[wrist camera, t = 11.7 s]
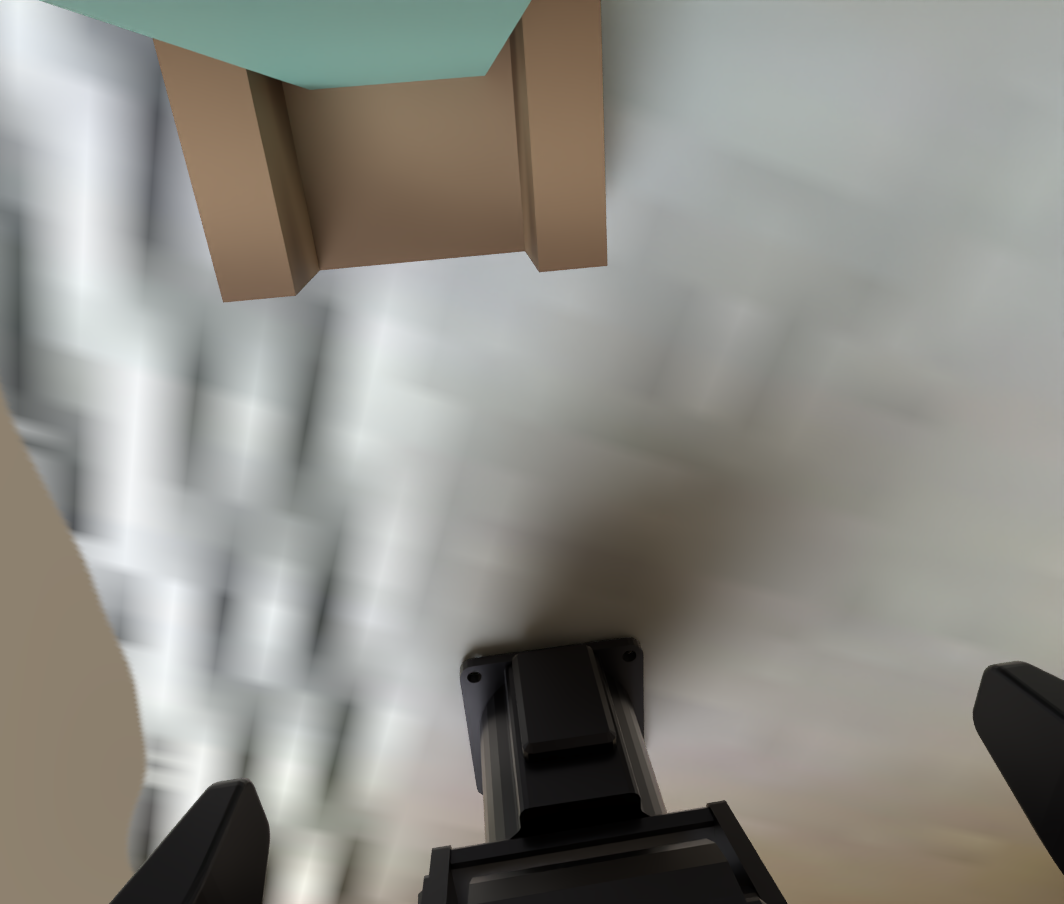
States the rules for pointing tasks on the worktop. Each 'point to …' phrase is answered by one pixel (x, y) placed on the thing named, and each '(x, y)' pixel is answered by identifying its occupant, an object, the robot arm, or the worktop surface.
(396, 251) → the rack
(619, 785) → the robot arm
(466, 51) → the block
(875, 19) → the worktop surface
